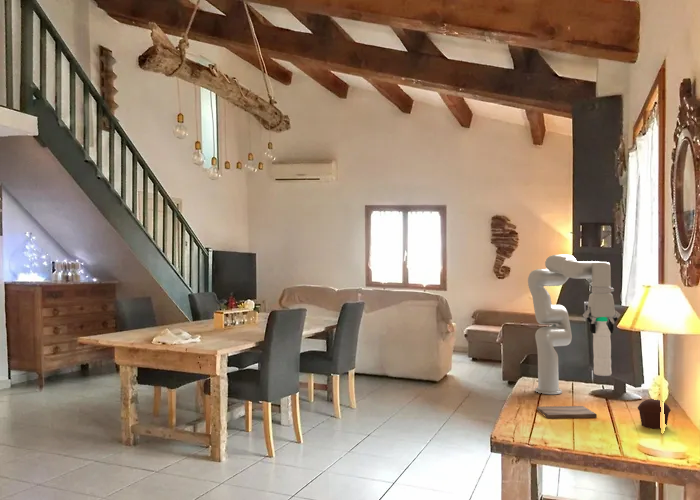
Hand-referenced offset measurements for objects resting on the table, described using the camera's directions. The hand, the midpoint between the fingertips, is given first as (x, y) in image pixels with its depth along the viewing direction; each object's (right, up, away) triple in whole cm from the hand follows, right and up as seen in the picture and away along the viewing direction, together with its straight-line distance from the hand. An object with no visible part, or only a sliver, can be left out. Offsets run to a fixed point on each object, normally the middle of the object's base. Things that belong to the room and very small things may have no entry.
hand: (601, 332), depth 261 cm
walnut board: (-17, -34, -4) cm, 38 cm away
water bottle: (0, -18, 0) cm, 18 cm away
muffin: (+11, -33, -23) cm, 42 cm away
